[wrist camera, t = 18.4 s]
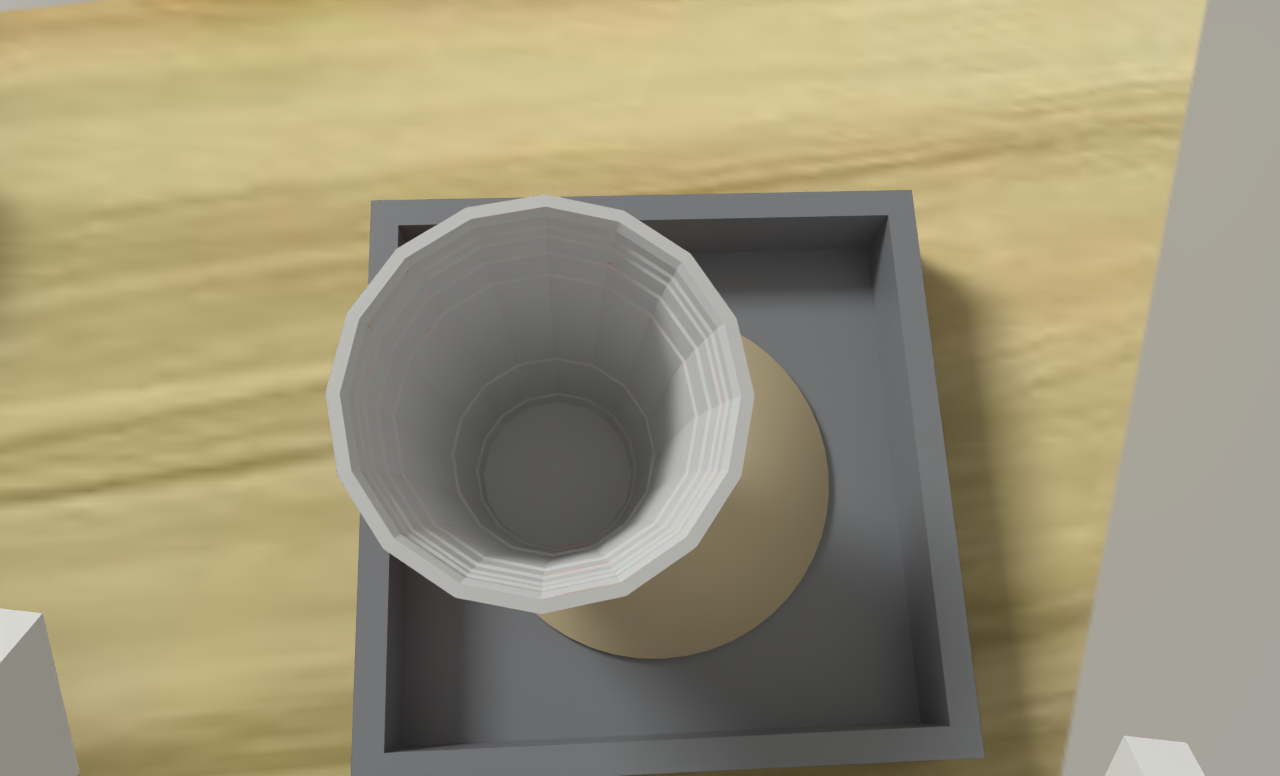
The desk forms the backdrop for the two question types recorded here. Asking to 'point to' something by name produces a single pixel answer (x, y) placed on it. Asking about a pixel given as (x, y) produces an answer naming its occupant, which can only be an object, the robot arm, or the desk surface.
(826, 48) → the desk surface
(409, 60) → the desk surface
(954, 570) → the grey square tray
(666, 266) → the plastic cup
